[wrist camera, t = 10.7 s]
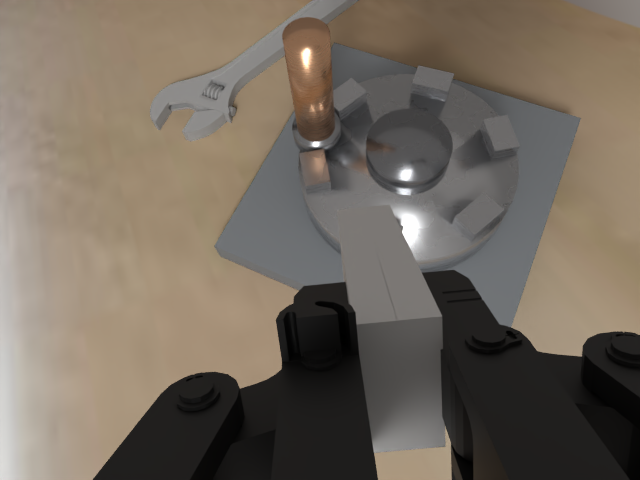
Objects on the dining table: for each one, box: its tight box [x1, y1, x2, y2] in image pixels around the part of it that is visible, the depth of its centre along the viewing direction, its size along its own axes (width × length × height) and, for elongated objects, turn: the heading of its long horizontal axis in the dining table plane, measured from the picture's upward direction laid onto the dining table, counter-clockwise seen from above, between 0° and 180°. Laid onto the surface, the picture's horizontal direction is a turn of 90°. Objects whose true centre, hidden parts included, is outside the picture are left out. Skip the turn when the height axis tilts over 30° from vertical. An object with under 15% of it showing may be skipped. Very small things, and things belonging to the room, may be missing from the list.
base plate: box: [214, 43, 581, 327], centre depth 42 cm, size 22×22×2 cm
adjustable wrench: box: [150, 0, 358, 141], centre depth 49 cm, size 25×6×2 cm, turn 129°
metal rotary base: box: [282, 17, 520, 273], centre depth 35 cm, size 17×16×13 cm
